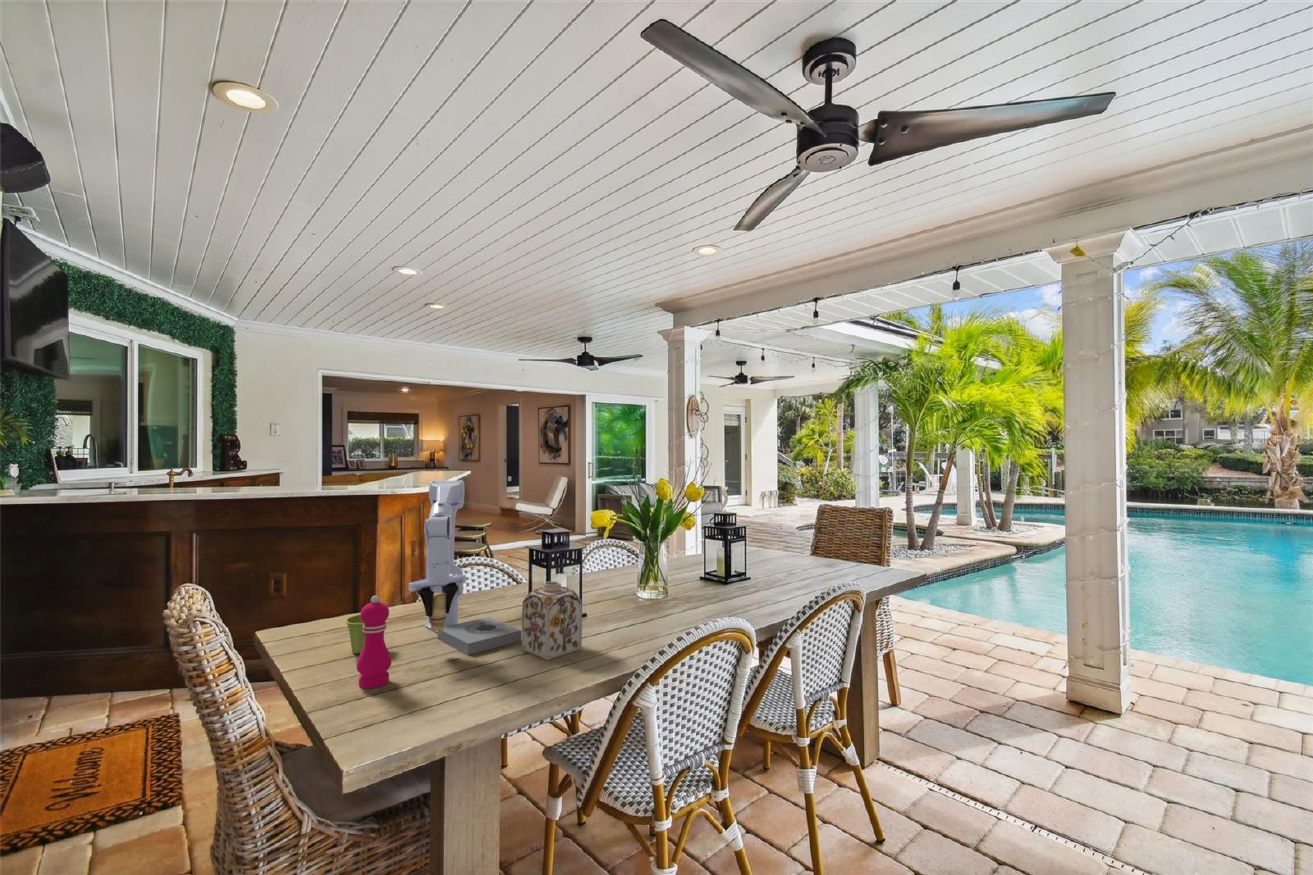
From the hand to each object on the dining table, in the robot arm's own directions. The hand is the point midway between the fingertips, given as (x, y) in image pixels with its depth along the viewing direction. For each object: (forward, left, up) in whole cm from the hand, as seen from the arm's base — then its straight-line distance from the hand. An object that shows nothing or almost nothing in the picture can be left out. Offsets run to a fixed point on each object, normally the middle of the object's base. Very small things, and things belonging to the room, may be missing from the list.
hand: (437, 614), depth 154 cm
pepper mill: (+8, -19, -11) cm, 23 cm away
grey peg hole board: (-3, +13, -10) cm, 17 cm away
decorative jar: (+18, +23, -11) cm, 32 cm away
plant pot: (-16, -13, -11) cm, 23 cm away
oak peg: (0, 0, -4) cm, 4 cm away
